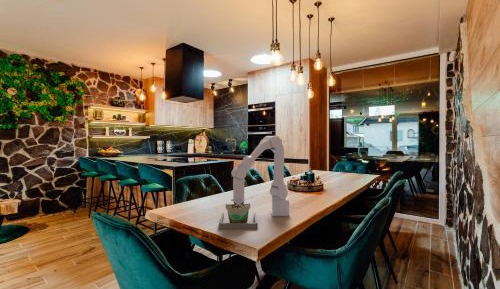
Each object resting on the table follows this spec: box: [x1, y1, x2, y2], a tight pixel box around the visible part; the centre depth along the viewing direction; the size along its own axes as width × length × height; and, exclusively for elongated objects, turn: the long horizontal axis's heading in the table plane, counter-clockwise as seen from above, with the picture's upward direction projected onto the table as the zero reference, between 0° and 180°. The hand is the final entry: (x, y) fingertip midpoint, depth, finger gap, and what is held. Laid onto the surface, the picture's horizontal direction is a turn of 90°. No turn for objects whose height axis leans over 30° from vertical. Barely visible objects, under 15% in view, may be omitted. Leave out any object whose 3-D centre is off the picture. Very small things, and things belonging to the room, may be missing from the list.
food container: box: [225, 202, 251, 223], centre depth 124 cm, size 12×6×10 cm, turn 92°
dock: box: [218, 212, 259, 230], centre depth 128 cm, size 18×17×2 cm
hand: (238, 216), depth 132 cm, fingers open, 6 cm apart
